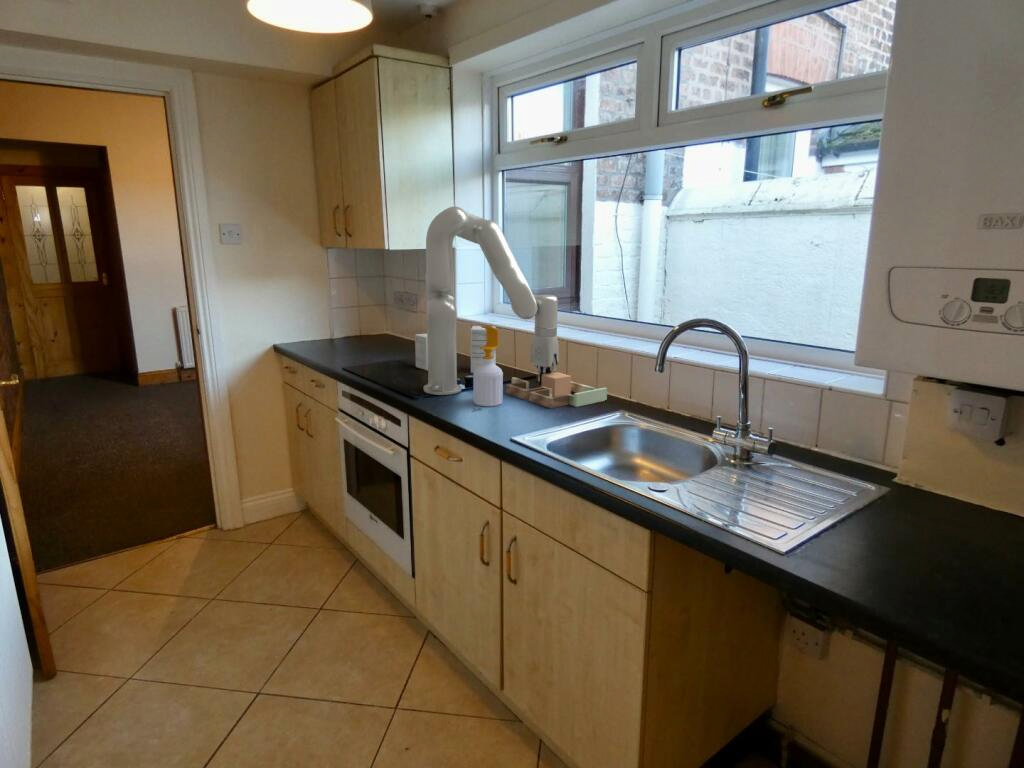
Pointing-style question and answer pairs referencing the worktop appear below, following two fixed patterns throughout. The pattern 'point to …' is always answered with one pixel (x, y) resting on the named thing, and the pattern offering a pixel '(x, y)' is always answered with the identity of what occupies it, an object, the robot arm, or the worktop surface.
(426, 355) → the small box
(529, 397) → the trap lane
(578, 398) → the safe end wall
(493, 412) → the worktop surface
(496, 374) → the soap bottle
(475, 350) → the supplement box
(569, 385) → the block
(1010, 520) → the worktop surface
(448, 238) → the robot arm
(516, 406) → the worktop surface
